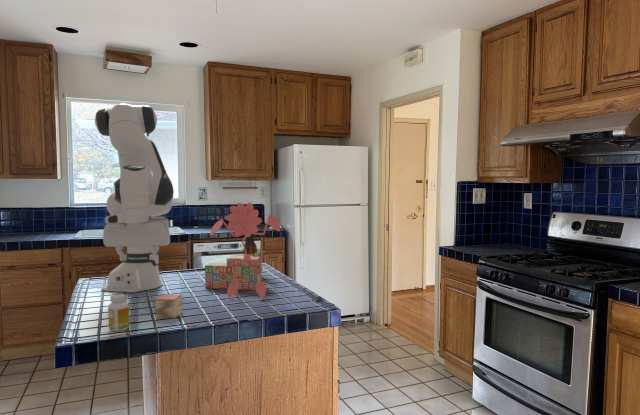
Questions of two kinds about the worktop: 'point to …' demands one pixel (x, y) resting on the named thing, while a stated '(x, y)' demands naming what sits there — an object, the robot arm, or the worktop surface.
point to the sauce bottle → (250, 246)
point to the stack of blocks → (224, 276)
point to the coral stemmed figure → (247, 224)
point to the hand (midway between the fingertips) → (138, 260)
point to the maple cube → (168, 306)
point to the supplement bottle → (118, 313)
